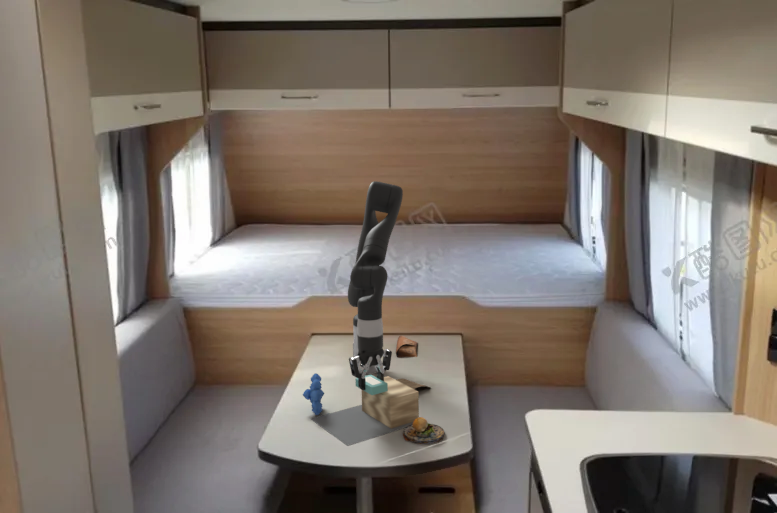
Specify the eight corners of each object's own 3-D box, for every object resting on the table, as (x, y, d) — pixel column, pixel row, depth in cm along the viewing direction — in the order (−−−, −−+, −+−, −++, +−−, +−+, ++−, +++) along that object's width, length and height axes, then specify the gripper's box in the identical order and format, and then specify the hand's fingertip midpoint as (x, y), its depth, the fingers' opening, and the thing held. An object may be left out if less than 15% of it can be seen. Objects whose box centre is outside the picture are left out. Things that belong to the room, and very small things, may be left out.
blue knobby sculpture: (303, 405, 220) (301, 369, 218) (324, 404, 221) (323, 368, 219) (302, 420, 209) (301, 382, 207) (325, 419, 210) (324, 381, 208)
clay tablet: (402, 403, 222) (402, 394, 221) (376, 394, 229) (376, 386, 229) (434, 389, 234) (434, 380, 233) (408, 381, 241) (408, 373, 241)
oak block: (362, 410, 215) (361, 383, 213) (388, 403, 220) (388, 376, 219) (391, 428, 202) (390, 399, 200) (418, 420, 207) (418, 391, 206)
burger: (450, 443, 193) (450, 418, 192) (410, 449, 190) (410, 423, 189) (435, 425, 205) (435, 402, 203) (397, 431, 201) (397, 407, 200)
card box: (355, 386, 208) (355, 378, 207) (371, 382, 211) (370, 374, 210) (371, 395, 200) (371, 387, 200) (387, 391, 204) (387, 383, 203)
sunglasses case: (418, 357, 264) (409, 342, 263) (402, 366, 265) (393, 351, 264) (418, 342, 282) (409, 328, 281) (403, 350, 283) (394, 337, 282)
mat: (310, 419, 209) (310, 418, 209) (381, 399, 224) (381, 399, 224) (347, 446, 192) (347, 445, 191) (422, 423, 206) (422, 422, 206)
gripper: (383, 325, 209) (384, 378, 213) (342, 333, 202) (343, 388, 205) (397, 331, 203) (398, 385, 207) (355, 340, 195) (357, 396, 199)
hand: (371, 386), depth 206 cm, fingers closed on card box, 5 cm apart
